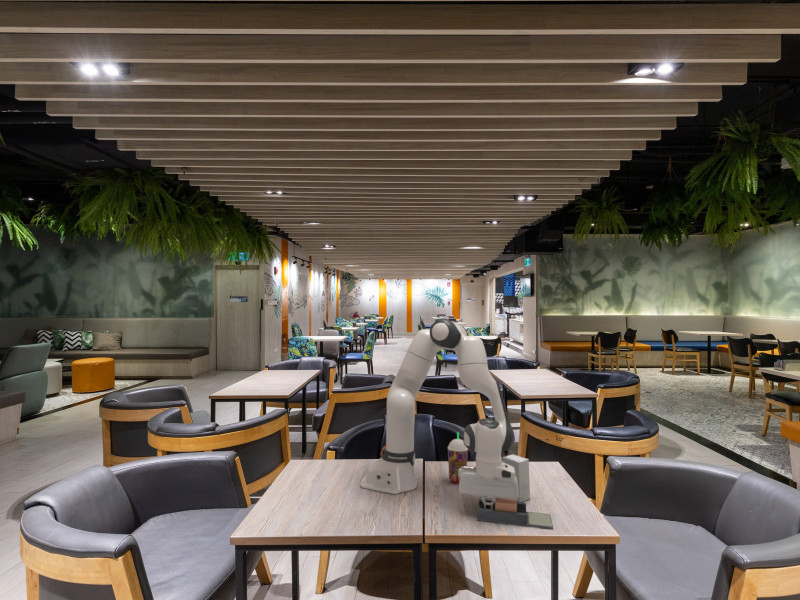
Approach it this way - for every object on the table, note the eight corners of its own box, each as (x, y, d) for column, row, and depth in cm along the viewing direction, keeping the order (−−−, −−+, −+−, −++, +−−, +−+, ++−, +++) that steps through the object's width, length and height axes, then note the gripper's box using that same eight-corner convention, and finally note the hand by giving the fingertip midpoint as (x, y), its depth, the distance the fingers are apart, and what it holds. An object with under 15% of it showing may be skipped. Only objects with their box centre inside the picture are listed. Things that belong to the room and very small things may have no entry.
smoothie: (454, 486, 181) (455, 436, 181) (443, 479, 188) (443, 430, 188) (471, 483, 185) (472, 433, 185) (460, 476, 192) (460, 428, 192)
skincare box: (530, 499, 170) (530, 459, 170) (519, 503, 166) (519, 462, 167) (513, 491, 177) (513, 453, 177) (502, 495, 173) (502, 455, 174)
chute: (477, 520, 152) (477, 509, 152) (479, 508, 162) (479, 497, 162) (553, 529, 147) (553, 518, 147) (550, 515, 156) (550, 505, 156)
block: (495, 516, 153) (495, 502, 153) (495, 510, 158) (495, 496, 158) (516, 518, 152) (516, 505, 152) (516, 512, 156) (516, 499, 156)
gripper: (457, 468, 156) (456, 509, 155) (519, 474, 151) (519, 516, 151) (459, 462, 162) (458, 501, 161) (518, 467, 157) (518, 508, 157)
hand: (488, 508), depth 156 cm, fingers closed
